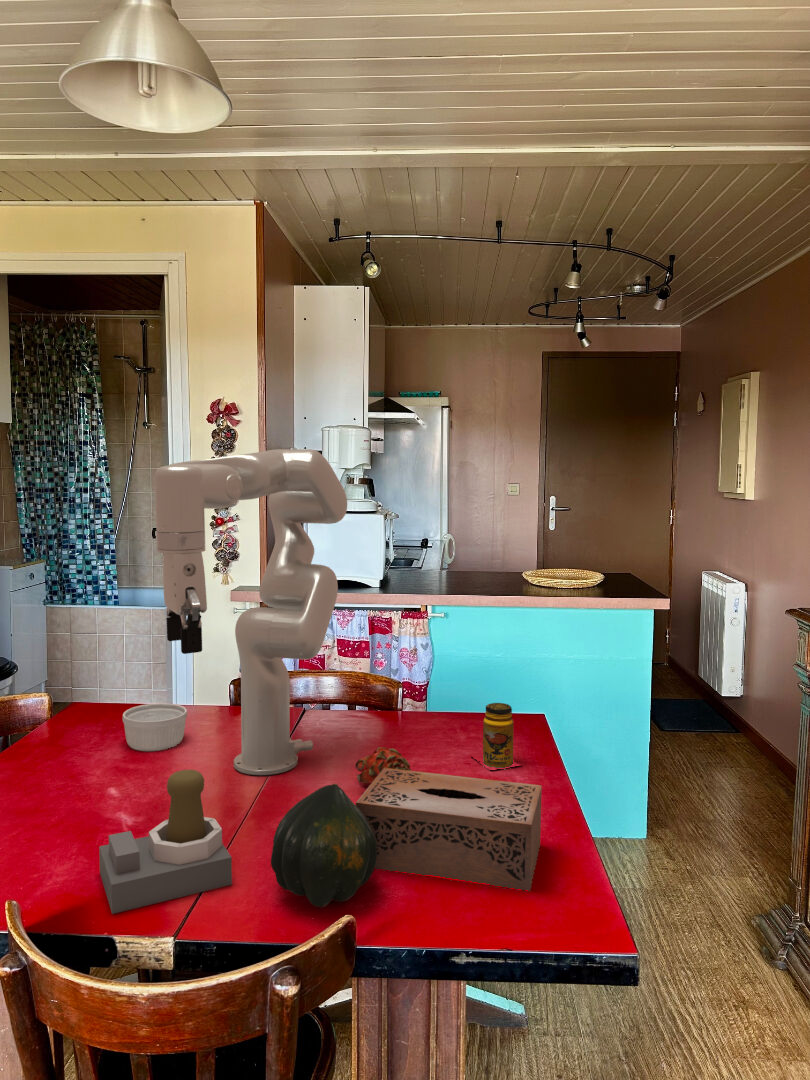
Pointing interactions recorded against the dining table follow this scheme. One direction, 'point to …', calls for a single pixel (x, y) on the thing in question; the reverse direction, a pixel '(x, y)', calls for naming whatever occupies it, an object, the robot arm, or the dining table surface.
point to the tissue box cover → (455, 826)
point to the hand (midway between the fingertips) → (184, 646)
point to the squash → (324, 848)
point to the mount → (162, 867)
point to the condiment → (498, 736)
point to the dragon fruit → (380, 764)
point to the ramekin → (154, 726)
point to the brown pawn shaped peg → (185, 807)
